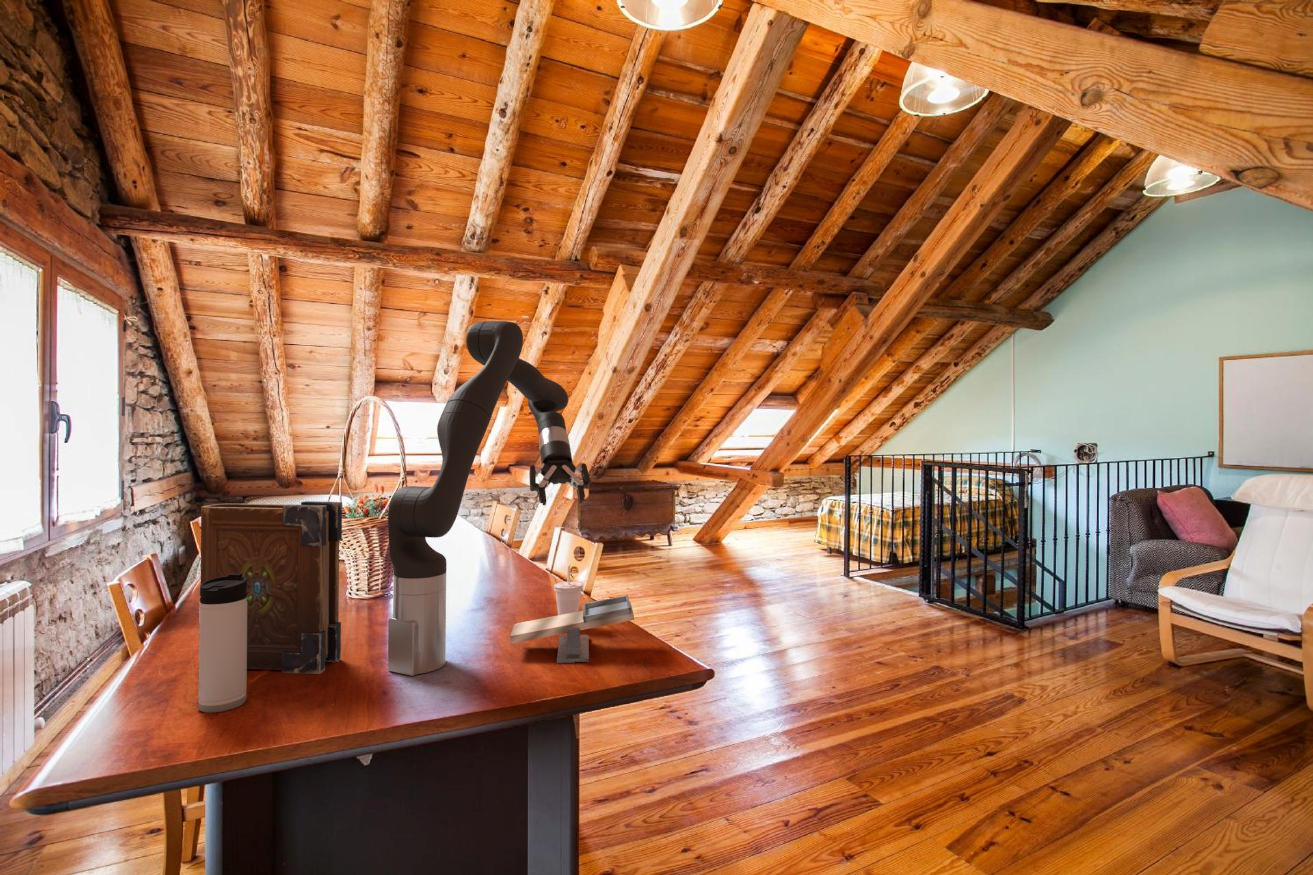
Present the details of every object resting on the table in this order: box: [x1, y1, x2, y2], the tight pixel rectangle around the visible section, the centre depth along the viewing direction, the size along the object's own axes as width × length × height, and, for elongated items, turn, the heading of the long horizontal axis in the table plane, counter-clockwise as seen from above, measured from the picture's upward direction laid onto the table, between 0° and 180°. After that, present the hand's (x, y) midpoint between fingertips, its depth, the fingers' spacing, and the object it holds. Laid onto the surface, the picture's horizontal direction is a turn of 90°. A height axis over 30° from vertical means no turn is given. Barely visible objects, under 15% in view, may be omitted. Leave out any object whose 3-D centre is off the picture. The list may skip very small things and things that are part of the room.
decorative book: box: [200, 500, 343, 675], centre depth 117 cm, size 23×7×30 cm, turn 88°
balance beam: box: [509, 594, 635, 645], centre depth 127 cm, size 24×10×3 cm, turn 96°
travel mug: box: [197, 574, 248, 714], centre depth 100 cm, size 6×7×20 cm
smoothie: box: [553, 565, 584, 615], centre depth 142 cm, size 6×6×14 cm
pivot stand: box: [556, 612, 590, 664], centre depth 127 cm, size 6×14×6 cm, turn 7°
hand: (563, 502), depth 149 cm, fingers open, 8 cm apart
